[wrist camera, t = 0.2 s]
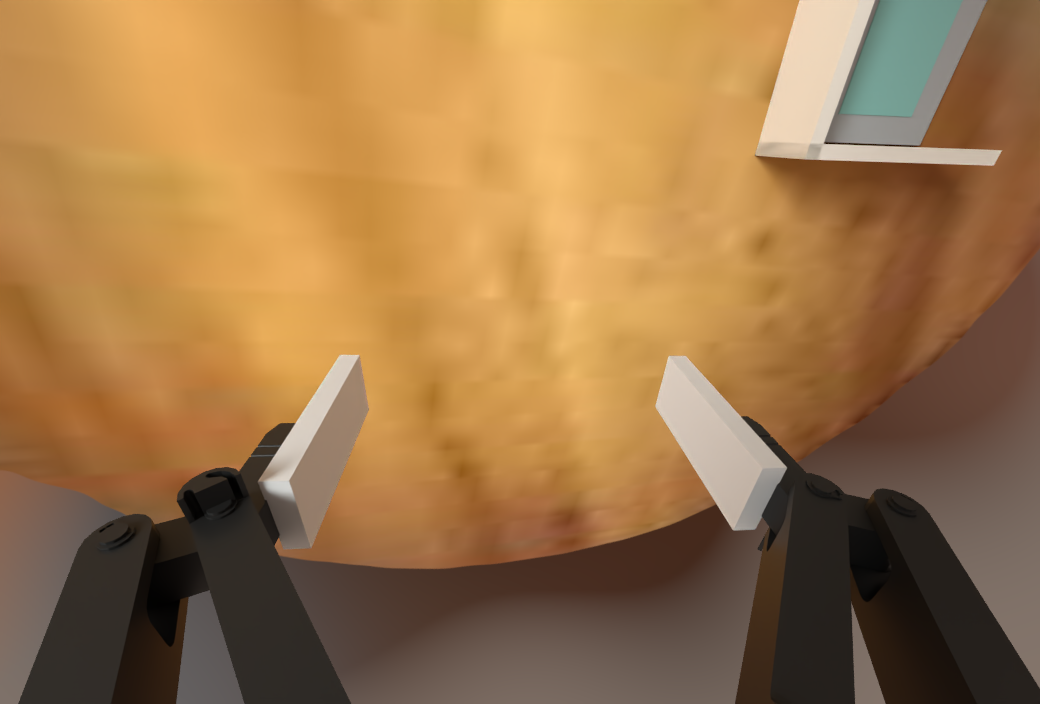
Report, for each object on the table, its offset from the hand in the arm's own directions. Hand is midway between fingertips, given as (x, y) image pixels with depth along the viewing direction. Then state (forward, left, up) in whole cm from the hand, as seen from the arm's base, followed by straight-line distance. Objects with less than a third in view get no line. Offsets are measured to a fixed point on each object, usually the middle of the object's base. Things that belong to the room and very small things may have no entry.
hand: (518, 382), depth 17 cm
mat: (-18, +35, -28) cm, 48 cm away
